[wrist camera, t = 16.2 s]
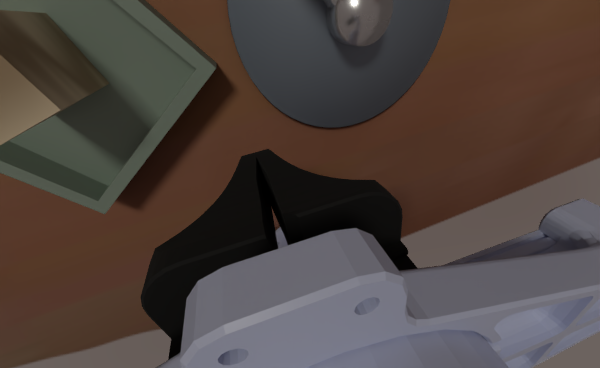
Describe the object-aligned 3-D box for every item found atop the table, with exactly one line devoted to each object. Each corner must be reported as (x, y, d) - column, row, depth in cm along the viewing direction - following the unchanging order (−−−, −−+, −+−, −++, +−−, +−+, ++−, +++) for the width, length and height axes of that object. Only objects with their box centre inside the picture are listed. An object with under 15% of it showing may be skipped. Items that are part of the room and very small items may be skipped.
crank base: (475, 15, 20) (485, 15, 19) (333, 159, 24) (337, 163, 23) (369, -282, 12) (379, -303, 11) (171, 12, 15) (169, 11, 14)
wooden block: (109, 83, 16) (60, 109, 11) (55, 114, 16) (-18, 155, 11) (45, 12, 13) (-53, 6, 9) (-18, 50, 14) (-152, 65, 9)
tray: (216, 63, 17) (216, 68, 15) (116, 194, 20) (104, 214, 18) (-61, -181, 10) (-131, -233, 8) (-154, 75, 13) (-224, 84, 11)
